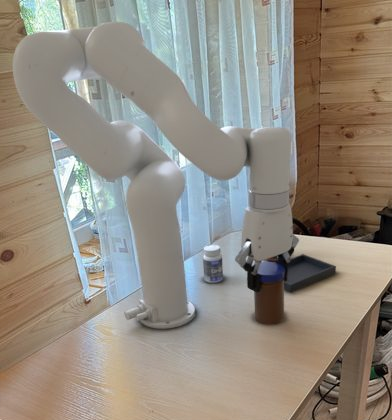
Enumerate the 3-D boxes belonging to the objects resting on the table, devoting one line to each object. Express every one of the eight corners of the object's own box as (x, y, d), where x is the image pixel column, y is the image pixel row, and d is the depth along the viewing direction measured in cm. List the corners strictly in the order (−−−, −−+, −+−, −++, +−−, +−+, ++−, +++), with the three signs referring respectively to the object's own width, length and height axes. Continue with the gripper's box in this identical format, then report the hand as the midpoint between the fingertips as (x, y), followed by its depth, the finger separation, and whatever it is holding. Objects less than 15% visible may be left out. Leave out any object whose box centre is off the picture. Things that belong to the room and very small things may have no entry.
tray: (290, 292, 120) (290, 284, 119) (258, 278, 128) (258, 270, 127) (335, 273, 127) (336, 266, 126) (302, 261, 135) (302, 253, 134)
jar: (268, 327, 107) (267, 282, 102) (249, 316, 111) (247, 273, 106) (290, 317, 110) (290, 273, 104) (270, 307, 114) (269, 264, 109)
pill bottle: (213, 285, 126) (211, 252, 122) (200, 279, 129) (198, 248, 125) (227, 278, 129) (225, 246, 124) (214, 273, 132) (212, 242, 127)
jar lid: (268, 265, 109) (269, 259, 109) (291, 276, 105) (291, 269, 104) (243, 274, 106) (244, 267, 105) (266, 285, 101) (266, 278, 101)
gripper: (288, 185, 104) (285, 267, 113) (220, 204, 96) (223, 291, 105) (316, 193, 98) (310, 278, 108) (246, 213, 90) (246, 303, 100)
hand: (267, 284), depth 107 cm, fingers closed on jar lid, 6 cm apart
